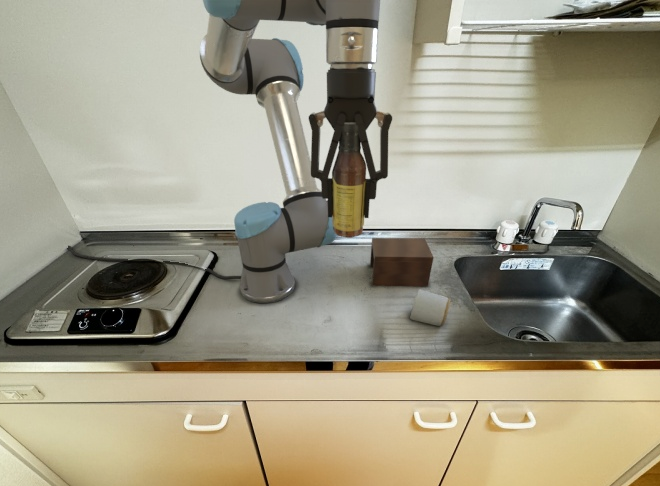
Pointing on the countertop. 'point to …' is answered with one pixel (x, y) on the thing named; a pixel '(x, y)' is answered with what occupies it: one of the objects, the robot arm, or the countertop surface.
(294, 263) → the countertop surface
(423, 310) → the white cylinder
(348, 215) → the sauce bottle
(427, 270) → the wooden brown block
